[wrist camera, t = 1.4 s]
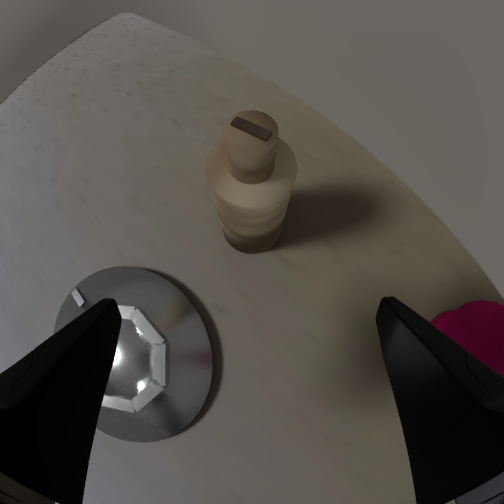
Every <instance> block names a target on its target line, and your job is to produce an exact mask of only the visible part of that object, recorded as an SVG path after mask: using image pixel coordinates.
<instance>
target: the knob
mask: <svg viewBox="0 0 504 504" xmlns="http://www.w3.org/2000/svg"><path fill="white" fill-rule="evenodd" d="M296 173H297V163H296V159H295V156H294V154H293V152H292V150H291V148H290V147H289V146H288V145H287V144H286V143H285V142H284V141H283V140H282V139H280V138H279V137H278V126H277V124H276V122H275V120H274V119H273V118H272V117H270V116H269V115H267V114H265V113H263V112H259V111H252V110H251V111H243V112H239V113H237V114H235V115H233V116H232V117H231V118H230V119H228V121H227V122H226V124H225V126H224V138H223V139H221V140H220V141H219V142H218V143H217V144H216V145H215V146H214V147H213V149H212V150H211V152H210V153H209V156H208V158H207V162H206V174H207V178H208V182H209V185H210V188H211V192H212V195H213V199H214V202H215V205H216V209H217V212H218V215H219V219H220V222H221V225H222V229H223V232H224V235H225V238H226V240H227V241H228V243H229V244H230V245H231V246H232V247H233V248H235V249H236V250H238V251H240V252H243V253H247V254H256V253H261V252H264V251H266V250H268V249H269V248H271V247H272V246H273V245H274V244H275V243H276V241H277V240H278V238H279V235H280V232H281V229H282V225H283V222H284V218H285V214H286V211H287V207H288V203H289V200H290V196H291V192H292V189H293V185H294V181H295V178H296Z"/></svg>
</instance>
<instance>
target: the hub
mask: <svg viewBox="0 0 504 504" xmlns="http://www.w3.org/2000/svg"><path fill="white" fill-rule="evenodd" d="M103 298H113V299H115V300H116V302H117V305H118V308H119V311H120V313H121V316H122V325H121V329H120V334H119V339H118V344H117V349H116V354H115V359H114V362H113V366H112V369H111V373H110V376H109V380H108V383H107V387H106V390H105V394H104V398H103V402H102V405H101V409H100V413H99V417H98V422H97V426H96V428H98V429H99V430H101V431H103V432H104V433H106V434H109V435H111V436H113V437H116V438H119V439H122V440H126V441H132V442H152V441H158V440H161V439H165V438H168V437H170V436H172V435H174V434H176V433H178V432H179V431H181V430H182V429H184V428H185V427H186V426H187V425H188V424H189V423H190V422H191V421H192V420H193V419H194V418H195V416H196V415H197V414H198V413H199V411H200V410H201V408H202V406H203V405H204V403H205V401H206V399H207V396H208V394H209V391H210V388H211V383H212V379H213V368H214V362H213V350H212V345H211V340H210V337H209V334H208V330H207V328H206V326H205V323H204V321H203V319H202V317H201V315H200V314H199V312H198V310H197V309H196V307H195V306H194V305H193V303H192V302H191V301H190V299H189V298H188V297H187V296H186V295H185V294H184V293H183V292H182V291H181V290H180V289H179V288H177V287H176V286H175V285H174V284H172V283H171V282H169V281H168V280H166V279H164V278H163V277H161V276H159V275H157V274H155V273H153V272H150V271H148V270H144V269H140V268H136V267H127V266H123V267H112V268H107V269H104V270H101V271H98V272H96V273H94V274H92V275H90V276H88V277H87V278H85V279H84V280H83V281H81V282H80V283H79V284H78V285H77V286H76V287H75V288H74V289H73V290H72V291H71V293H70V294H69V295H68V296H67V298H66V300H65V301H64V303H63V305H62V307H61V309H60V311H59V314H58V317H57V320H56V323H55V328H54V334H55V333H56V332H57V331H59V330H60V329H62V328H63V327H64V326H66V325H67V324H68V323H70V322H71V321H72V320H74V319H75V318H76V317H78V316H79V315H81V314H82V313H83V312H85V311H86V310H88V309H89V308H90V307H92V306H93V305H95V304H96V303H97V302H99V301H100V300H102V299H103Z"/></svg>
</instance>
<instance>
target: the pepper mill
mask: <svg viewBox="0 0 504 504" xmlns="http://www.w3.org/2000/svg"><path fill="white" fill-rule="evenodd" d="M431 324H432V325H434V326H435V327H436V328H438V329H439V330H440V331H442V332H443V333H444V334H446V335H447V336H448V337H450V338H451V339H452V340H454V341H455V342H456V343H458V344H459V345H460V346H462V347H463V348H464V349H465V350H467V351H468V352H469V353H471V354H472V355H473V356H475V357H476V358H477V359H479V360H480V361H481V362H482V363H484V364H485V365H487V366H488V367H490V368H491V369H493V370H494V371H496V372H497V373H499V374H500V375H502V376H503V377H504V306H502V305H500V304H498V303H496V302H491V301H484V300H480V301H471V302H468V303H466V304H464V305H462V306H461V307H460V308H458V309H457V310H453V311H446V312H443V313H441V314H439V315H437V316H436V317H435V318H434V319H433V320H432V321H431Z"/></svg>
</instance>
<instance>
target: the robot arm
mask: <svg viewBox="0 0 504 504" xmlns="http://www.w3.org/2000/svg"><path fill="white" fill-rule="evenodd" d="M376 324H377V329H378V334H379V339H380V344H381V349H382V354H383V359H384V362H385V366H386V369H387V373H388V376H389V379H390V383H391V386H392V390H393V394H394V397H395V401H396V405H397V409H398V413H399V417H400V421H401V425H402V429H403V433H404V438H405V442H406V447H407V451H408V456H409V461H410V467H411V472H412V478H413V484H414V490H415V496H416V503H417V504H445V503H447V502H450V501H452V500H454V499H455V503H456V504H504V377H503V376H502V375H500V374H499V373H497V372H496V371H494V370H493V369H491V368H490V367H488V366H487V365H485V364H484V363H482V362H481V361H480V360H479V359H477V358H476V357H475V356H473V355H472V354H471V353H469V352H468V351H467V350H465V349H464V348H463V347H462V346H460V345H459V344H458V343H456V342H455V341H454V340H452V339H451V338H450V337H448V336H447V335H446V334H444V333H443V332H442V331H440V330H439V329H438V328H436V327H435V326H434V325H432V324H431V323H430V322H428V321H427V320H426V319H424V318H423V317H421V316H420V315H419V314H417V313H416V312H415V311H413V310H412V309H410V308H409V307H408V306H406V305H405V304H403V303H402V302H401V301H399V300H398V299H396V298H395V297H383V298H382V299H381V302H380V305H379V308H378V311H377V314H376ZM121 325H122V316H121V313H120V311H119V308H118V305H117V302H116V300H115V299H113V298H103V299H102V300H100V301H99V302H97V303H96V304H95V305H93V306H92V307H90V308H89V309H88V310H86V311H85V312H83V313H82V314H81V315H79V316H78V317H76V318H75V319H74V320H72V321H71V322H70V323H68V324H67V325H66V326H64V327H63V328H62V329H60V330H59V331H57V332H56V333H55V334H53V335H52V336H51V337H49V338H48V339H47V340H45V341H44V342H43V343H42V344H40V345H39V346H38V347H36V348H35V349H34V351H31V352H30V353H29V354H27V355H26V356H25V357H23V358H22V359H21V360H19V361H18V362H17V363H15V364H14V365H12V366H11V367H10V368H8V369H7V370H5V371H4V372H2V373H1V374H0V504H55V502H57V503H59V504H82V502H83V495H84V488H85V482H86V476H87V470H88V465H89V459H90V454H91V449H92V444H93V439H94V435H95V430H96V426H97V422H98V417H99V413H100V409H101V405H102V402H103V398H104V394H105V390H106V387H107V383H108V380H109V376H110V373H111V369H112V366H113V362H114V359H115V354H116V349H117V344H118V339H119V334H120V329H121Z"/></svg>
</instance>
